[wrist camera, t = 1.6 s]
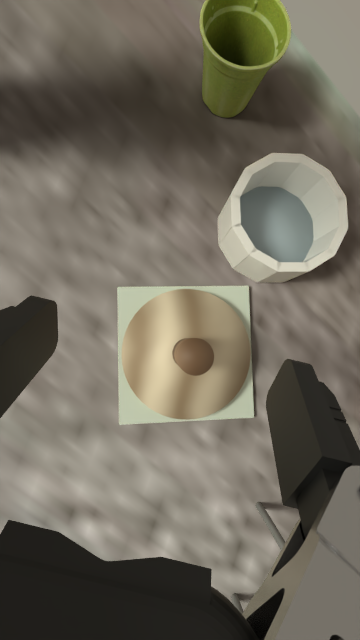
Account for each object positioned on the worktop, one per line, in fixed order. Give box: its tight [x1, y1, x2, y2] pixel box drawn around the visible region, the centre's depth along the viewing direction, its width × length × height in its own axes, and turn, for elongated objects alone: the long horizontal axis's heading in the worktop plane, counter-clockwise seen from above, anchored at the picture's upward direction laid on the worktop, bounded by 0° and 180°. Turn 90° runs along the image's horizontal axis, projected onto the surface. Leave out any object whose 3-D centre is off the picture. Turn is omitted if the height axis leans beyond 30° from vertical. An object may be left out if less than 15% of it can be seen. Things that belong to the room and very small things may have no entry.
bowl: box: [218, 153, 348, 283], centre depth 34 cm, size 13×13×6 cm
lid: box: [122, 289, 251, 420], centre depth 30 cm, size 15×15×8 cm
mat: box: [117, 286, 254, 425], centre depth 34 cm, size 16×16×1 cm
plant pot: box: [200, 0, 291, 117], centre depth 33 cm, size 9×9×9 cm
